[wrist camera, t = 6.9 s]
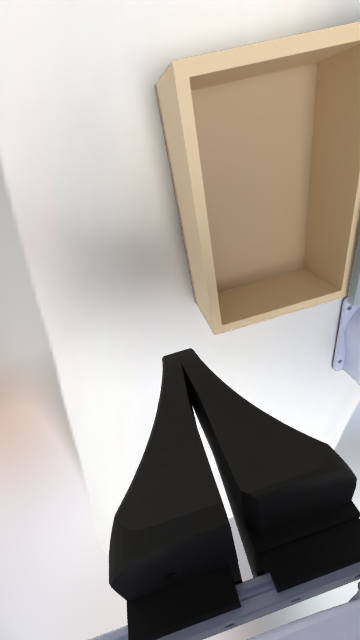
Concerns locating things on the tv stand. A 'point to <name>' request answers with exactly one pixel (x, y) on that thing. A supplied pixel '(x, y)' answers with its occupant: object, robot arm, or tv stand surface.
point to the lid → (355, 279)
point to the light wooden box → (266, 172)
